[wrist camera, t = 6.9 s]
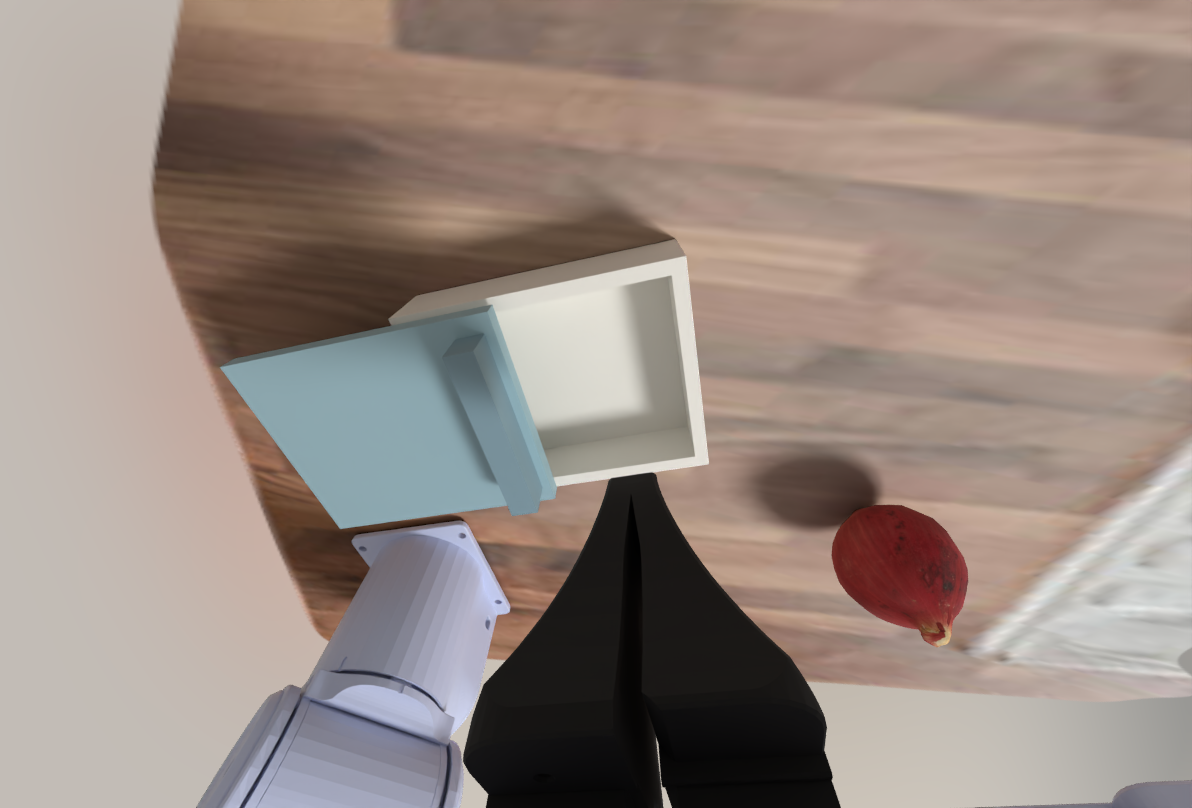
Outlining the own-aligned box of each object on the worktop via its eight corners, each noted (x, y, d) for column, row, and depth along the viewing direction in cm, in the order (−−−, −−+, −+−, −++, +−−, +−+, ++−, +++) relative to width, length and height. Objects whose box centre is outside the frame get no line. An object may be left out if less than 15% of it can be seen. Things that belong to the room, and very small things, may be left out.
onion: (853, 461, 25) (946, 588, 18) (935, 492, 26) (1052, 622, 19) (792, 528, 28) (851, 659, 21) (867, 553, 28) (948, 685, 22)
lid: (556, 487, 22) (551, 523, 20) (347, 517, 23) (323, 554, 21) (492, 304, 17) (475, 327, 15) (234, 358, 19) (187, 386, 17)
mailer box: (698, 428, 24) (708, 464, 21) (489, 461, 25) (475, 498, 23) (675, 238, 19) (686, 255, 16) (416, 295, 20) (388, 319, 18)
